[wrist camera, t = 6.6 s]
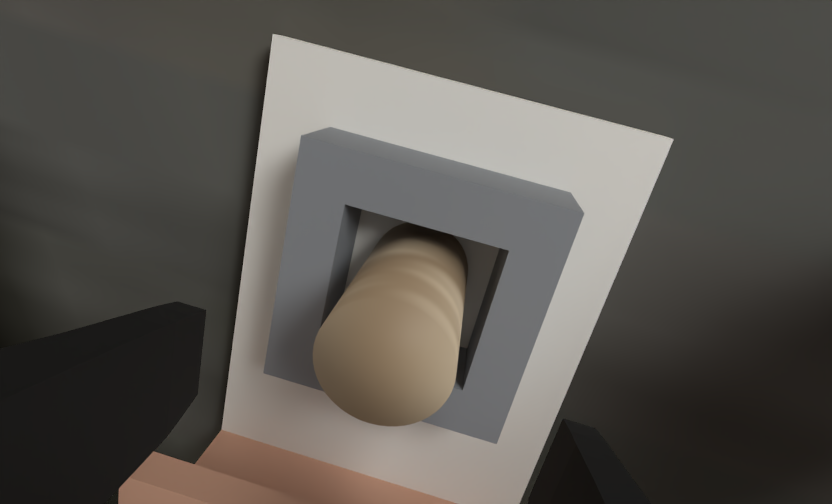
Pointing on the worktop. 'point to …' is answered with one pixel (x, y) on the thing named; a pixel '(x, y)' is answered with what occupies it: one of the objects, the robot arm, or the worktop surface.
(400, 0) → the worktop surface
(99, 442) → the robot arm
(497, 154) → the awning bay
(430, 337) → the peg
